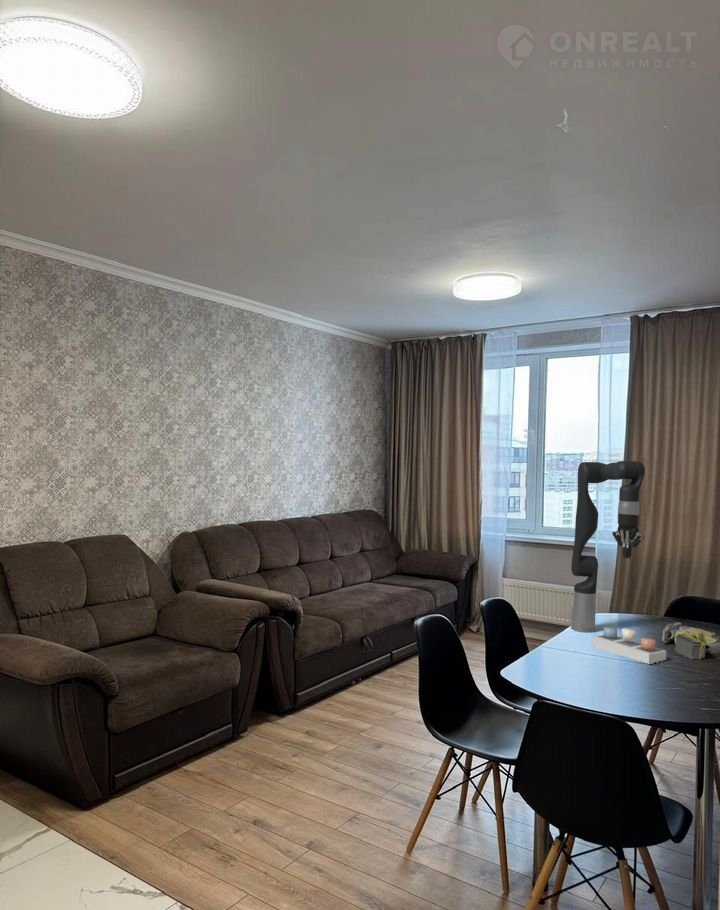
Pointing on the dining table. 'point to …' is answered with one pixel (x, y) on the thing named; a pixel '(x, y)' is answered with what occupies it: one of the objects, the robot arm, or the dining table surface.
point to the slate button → (610, 632)
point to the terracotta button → (648, 644)
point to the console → (628, 649)
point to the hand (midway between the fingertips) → (627, 557)
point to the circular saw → (691, 640)
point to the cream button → (628, 634)
